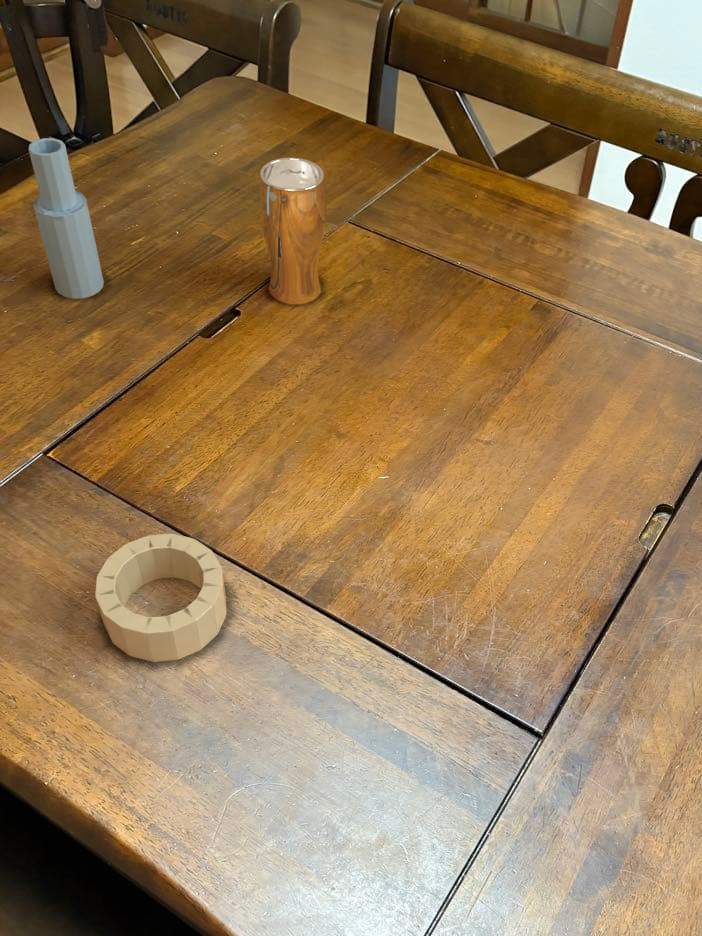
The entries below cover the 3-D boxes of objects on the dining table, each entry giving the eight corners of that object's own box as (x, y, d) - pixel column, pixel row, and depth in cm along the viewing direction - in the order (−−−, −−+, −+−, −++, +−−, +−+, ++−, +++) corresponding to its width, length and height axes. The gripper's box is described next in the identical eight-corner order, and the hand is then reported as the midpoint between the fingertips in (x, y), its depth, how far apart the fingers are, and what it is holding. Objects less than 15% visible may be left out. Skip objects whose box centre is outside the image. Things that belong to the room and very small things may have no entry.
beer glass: (317, 318, 104) (317, 195, 92) (257, 308, 104) (249, 185, 92) (331, 283, 108) (332, 162, 96) (273, 273, 108) (268, 151, 97)
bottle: (55, 306, 102) (16, 160, 88) (59, 278, 105) (22, 133, 92) (103, 304, 102) (72, 159, 89) (106, 277, 106) (75, 133, 93)
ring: (103, 672, 73) (91, 638, 69) (109, 575, 79) (99, 538, 75) (228, 661, 74) (223, 626, 70) (225, 566, 80) (220, 529, 76)
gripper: (99, -188, 72) (131, 32, 84) (-96, -197, 69) (-34, 31, 82) (96, -161, 67) (130, 68, 79) (-113, -169, 64) (-44, 68, 77)
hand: (47, 49), depth 80 cm, fingers open, 8 cm apart
